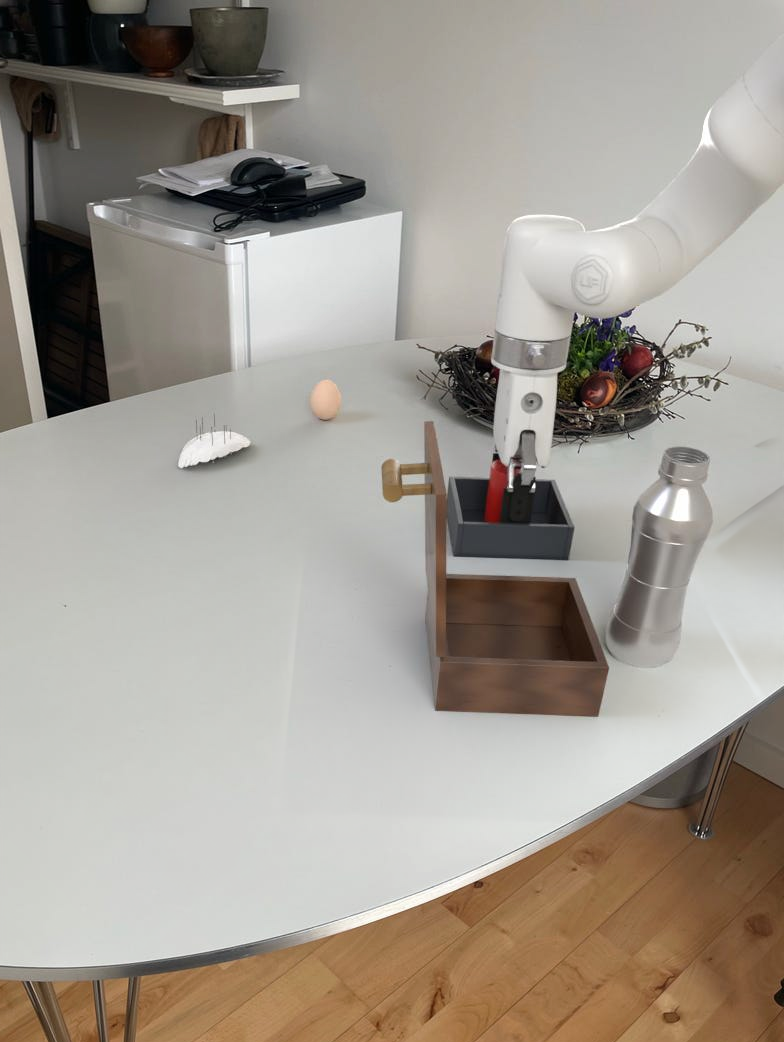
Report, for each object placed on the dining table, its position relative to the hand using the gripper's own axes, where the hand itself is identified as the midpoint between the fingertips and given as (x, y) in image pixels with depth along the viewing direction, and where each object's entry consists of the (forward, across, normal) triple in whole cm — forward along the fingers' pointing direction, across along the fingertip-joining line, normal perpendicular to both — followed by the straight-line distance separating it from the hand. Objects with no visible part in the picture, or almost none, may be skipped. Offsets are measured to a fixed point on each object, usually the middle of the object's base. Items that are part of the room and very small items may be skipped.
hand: (508, 504), depth 107 cm
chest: (+4, -26, +3) cm, 27 cm away
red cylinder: (+4, 0, 0) cm, 4 cm away
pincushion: (+4, +20, +35) cm, 41 cm away
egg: (+4, +35, +21) cm, 41 cm away
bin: (+4, 0, 0) cm, 4 cm away
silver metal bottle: (+4, -24, -9) cm, 26 cm away
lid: (-9, -26, +10) cm, 30 cm away
